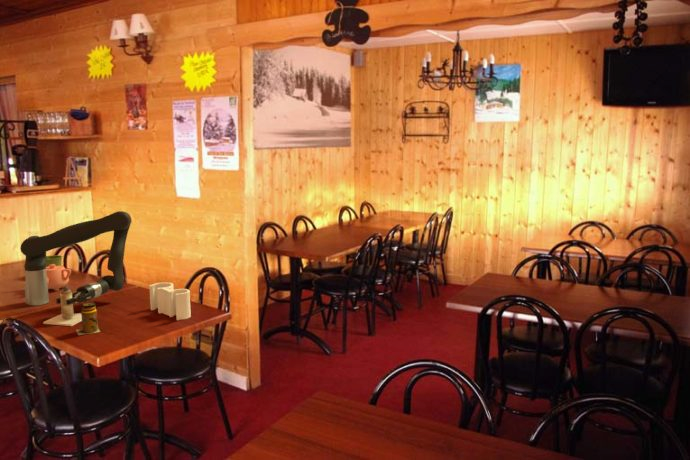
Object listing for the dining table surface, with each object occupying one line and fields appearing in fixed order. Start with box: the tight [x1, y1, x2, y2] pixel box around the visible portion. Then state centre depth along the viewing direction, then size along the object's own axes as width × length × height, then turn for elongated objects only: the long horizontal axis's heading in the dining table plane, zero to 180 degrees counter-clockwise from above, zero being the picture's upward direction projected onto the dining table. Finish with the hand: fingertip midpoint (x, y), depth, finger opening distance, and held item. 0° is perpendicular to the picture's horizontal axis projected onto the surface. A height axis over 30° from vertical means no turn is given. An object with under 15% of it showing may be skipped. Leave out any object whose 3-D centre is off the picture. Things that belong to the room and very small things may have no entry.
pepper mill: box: [59, 285, 75, 318], centre depth 255 cm, size 5×5×14 cm
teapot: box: [46, 264, 72, 292], centre depth 305 cm, size 16×17×14 cm
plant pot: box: [46, 254, 63, 267], centre depth 332 cm, size 12×12×11 cm
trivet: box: [42, 312, 82, 327], centre depth 256 cm, size 14×14×1 cm
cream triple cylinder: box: [148, 282, 192, 321], centre depth 266 cm, size 25×10×12 cm, turn 47°
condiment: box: [75, 302, 101, 336], centre depth 241 cm, size 7×8×12 cm
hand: (62, 302), depth 252 cm, fingers closed on pepper mill, 4 cm apart
